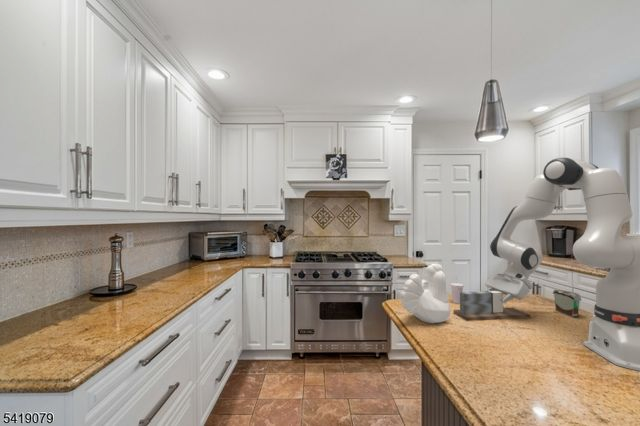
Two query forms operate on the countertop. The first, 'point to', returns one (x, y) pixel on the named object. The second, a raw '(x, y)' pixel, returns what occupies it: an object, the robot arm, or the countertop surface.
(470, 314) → the stand
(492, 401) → the countertop surface
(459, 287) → the smoothie
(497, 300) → the white cylinder
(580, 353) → the countertop surface
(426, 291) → the decorative rooster
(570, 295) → the food container
